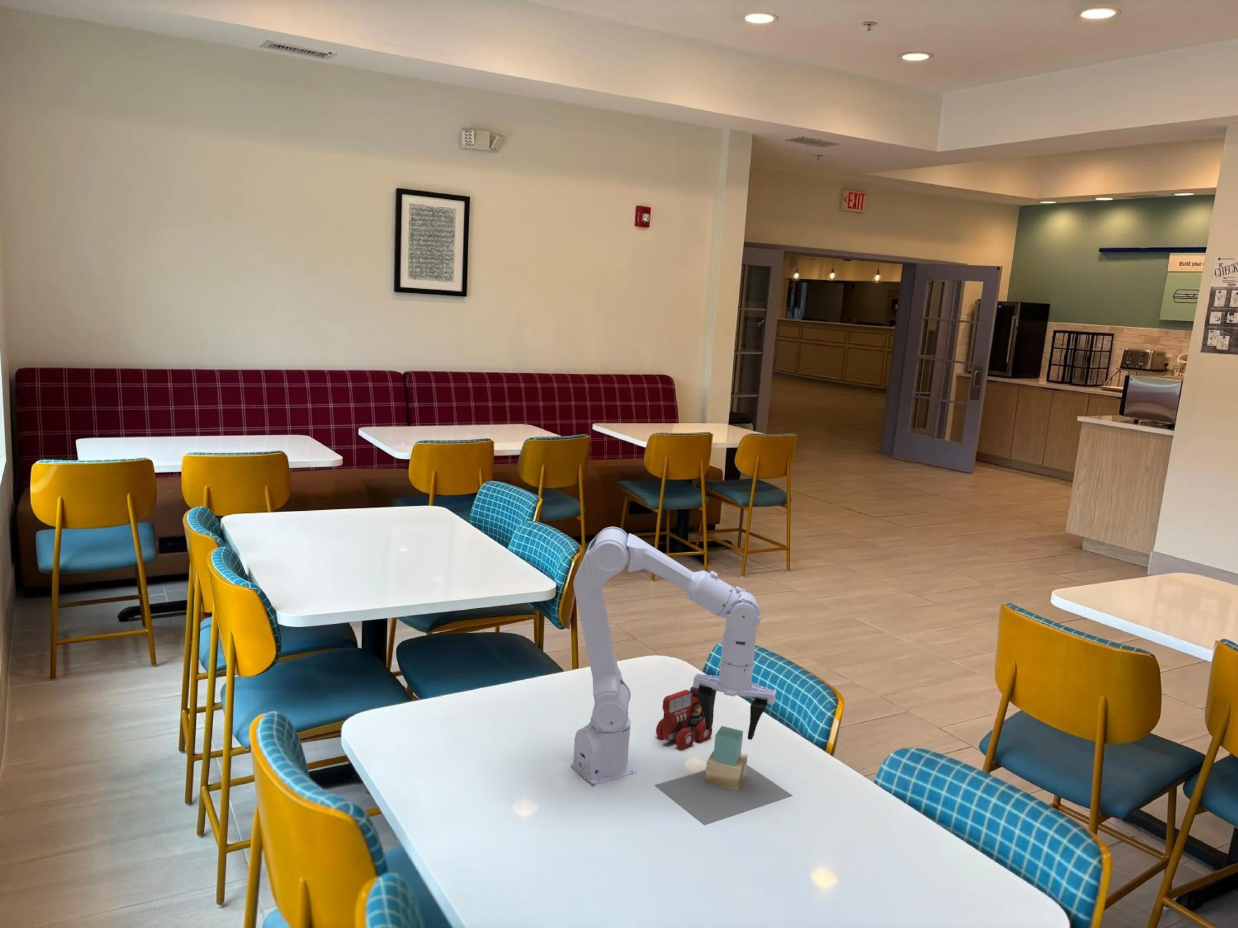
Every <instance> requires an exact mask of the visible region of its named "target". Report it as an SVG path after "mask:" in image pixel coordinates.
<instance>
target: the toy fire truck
mask: <svg viewBox="0 0 1238 928" xmlns="http://www.w3.org/2000/svg"><path fill="white" fill-rule="evenodd" d="M698 690H699V688H695V687H693V685H692V686H691V687H690V688H689V690H688V689H684V690H680V691H677V692H675V693H672V694H669V695H666V696H665V697H664V698H663V700H662V711H663V717H662V718H661V719H660V720H659V721H658V723H657V725H656V727H655V735H656V736H657V737H658V738H659V739H661V740H666V741H669V742H670V741H675V745H676V747H677V748H678V749H680V750H682V751H685V750H687V749H689V748H691V747H692V745H693V744H694V742H695V741H697V742H699V743H702V744H703V743H704V742H707V741H710V739H711V737H712V734H713V726H712V727H711V728H710V730H707V729H706V725H705V718H704V713H703V710H702V707H701V704H700V702H699V700H698V698H697V692H698Z"/></svg>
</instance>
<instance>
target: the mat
mask: <svg viewBox="0 0 1238 928" xmlns="http://www.w3.org/2000/svg"><path fill="white" fill-rule="evenodd" d="M705 775H706V769H705V770H701V771H698V772H695V773H694V772H693V773H692V774H688V775H684V776H681V777H678V778H675V779H670V780H668V781H667V780H666V781H663V782H661V783H658V784H654V785H653V786H654V787H656V788H657V789H658V790H660V792H662V793H663V794H664V795H666V796H667V797H668V798H670V800H672V801H673V802H675V803H676V804H677V805H678V806H679V807H681V808H682V809H683V810H685V811H686V812H687V813H688V814H689V815H691V816H692V817H693V818H694V819H696V820H697V821H698V822H699V823H701V824H702V825H703V826H707V825H710V824H712V823H715V822H718V821H722V820H724V819H727V818H730V817H731V818H732V817H733V816H736V815H740V814H742V813H743V814H744V813H746V812H749V811H751V810H755V809H758V808H760V807H763V806H766V805H769V804H772V803H775V802H779V801H781V800H784V799H787V798H790V797H793V794H791V793H790V792H788V791H787V790H785V789H784V788H782V787H781V786H780V785H778V784H776V783H775V782H774V781H772V780H771V779H769V778H768V777H766V776H764V775H763V774H761V773H760V772H759V771H757V770H755V769H754V768H752V767H751V766H750V765H748V764H747V767H746V775H745V777H744V779H743V781H742V783H741V785H740V787H739V789H738V790H734V789H730V788H726V787H722V786H718V785H714V784H710V783H706V782H705Z"/></svg>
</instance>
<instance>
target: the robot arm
mask: <svg viewBox="0 0 1238 928" xmlns="http://www.w3.org/2000/svg"><path fill="white" fill-rule="evenodd" d="M626 566H628V568H627V573H632V572H636V571H641V570H645V571H648V572H651V573H653V574H654V575H656V576H659V577H660V578H662V579H665V580H666V581H668V582H669V583H672V584H673V585H676V586H678V587H680V588H682V589H684V590H685V593H686V594H685V595H686V597H687V599H688V600H689V601H691V602H692V603H694V604H696V605H698V606H700V607H701V608H703V609H705V610H707V611H708V612H711V613H712V614H713V615H715V616H716V617H719V618H723V619H725V627H724V632H723V634H722V635H723V636H722V643H721V644H722V645H721V656H720V661H719V662H720V664H719V675H711V674H701V673H696V674H695V675H694V677H693V681H692V682H693V683H692V686H693V687H695V688H699V690H698V692H697V698H698V700H699V702H700V704H701V707H702V710H703V713H704V718H705V725H706V729H707V730H710V728H711V727H712V728H713V724H714V715H715V714H714V713H715V711H714V708H715V700H716V696H717V692H720V693H723V695H725V696H729V697H735V696H738V697H743V698H747V699H752V700H753V701H752V702H751V704H750V706H749V709H750V710H749V711H750V714H749V727H748V731H747V740H750V741H752V740H753V739H754V736H755V732H756V728H757V726H758V722H759V720H760V719H761V716H762V715H763V714H764V711H765V710H766V708H767V706H768V705H771V706H772V705H773V706H774V704H775V702H776V699H777V698H776V696H777V690H774V689H771V688H768V687H765V686H763V685H760V684H757V683H755V682H752V677H753V670H754V669H753V668H754V662H755V661H754V660H755V652H756V642H757V637H756V633H757V629H758V628H759V627H758V626H759V625H760V623H761V621H762V617H761V613H760V608H759V605H758V601H757V599H756V597H755V596H754V595H753V594H752V593H750V591H748V589H743V588H741V587H740V586H737V585H736V586H735V587H734V586H732V585H730V584H729V583H728V582H725V581H724V580H722V579H720V578H718V577H719V576H718V575H719V574H718V573H717V572H715V571H714V570H710V572H707V571H706V570H698V571H692V570H690V569H689V568H687V567H686V566H684V565H682V563H681V564H680V563H679V562H678V561H676V560H674V559H673V558H672V557H670V556H668V555H667V554H665V553H663V552H662V551H660V550H658V549H657V548H656V547H654V546H652V545H651V544H649V543H648V542H646V541H644V540H643V539H641V538H640V537H638V536H637V535H635V534H632V533H627V532H626V531H625V530H624V529H622V528H621V527H616V526H609V527H605V528H603V529H602V530H601V531H599V532H598V533H597V534H596V535H595V537H594V538H593V539H592V540H591V541H590V542H589V545H588V546H587V549H586V552H585V553H584V556H583V559H582V561H581V563H580V565H579V567H578V569H577V571H576V574H575V576H574V580H573V581H572V582H573V585H572V586H573V590H574V595H575V599H576V605H577V609H578V614H579V619H580V625H581V629H582V634H583V637H584V643H585V648H586V653H587V657H588V662H589V667H590V671H591V676H592V690H593V691H592V693H593V695H592V696H593V699H594V705H593V709H592V713H591V716H590V721H589V723H588V724H586V725H585V726H584V727H582V728H580V729H577V731H576V732H575V736H574V743H573V744H574V745H573V746H574V748H573V761H572V762H571V763H570V767H571V768H573V770H575V771H576V772H577V773H578V774H579V775H581V776H582V777H583V778H584V779H585V780H587V782H589V783H590V784H591V785H592V786H596V785H598V784H603V783H606V782H608V781H609V782H610V781H613V780H616V779H620V778H623V777H627V776H630V775H634V774H637V773H638V771H637V769H635V768H634V767H633V766H632V765H631V764H629V763H628V761H629V748H630V747H629V745H630V734H631V725H632V724H631V723H632V722H631V720H630V718H629V707H630V706H629V704H630V700H631V694H632V693H631V691H630V690H631V689H630V687H629V685H627V683H626V682H625V681H624V679H623V676H622V672H621V669H620V668H619V665H618V661H617V655H616V650H615V646H614V641H613V638H612V637H613V636H612V632H611V627H610V621H609V617H608V612H607V607H606V602H605V598H604V597H605V596H604V591H603V587H604V586H605V584H606V583H607V582H608V581H609V579H611V578H612V577H614V576H616V575H618V574H619V573H621V572H622V571H623V570H624V569H625V568H626Z"/></svg>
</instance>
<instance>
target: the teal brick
mask: <svg viewBox="0 0 1238 928" xmlns="http://www.w3.org/2000/svg"><path fill="white" fill-rule="evenodd" d="M743 736H744V731H743V730H741V729H737V728H734V727H733V728H732V727H728V726H724V725H721V726H720V727H719V729H718V731H717V732H716V733H715V736H714V737H715V738H714V748H713V751H714V756H713V761H715V762H719V763H723V764H727V765H731V766H735V765H736V764H737V762H738V760H739V759H740V757H741V753H742V747H743Z"/></svg>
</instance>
